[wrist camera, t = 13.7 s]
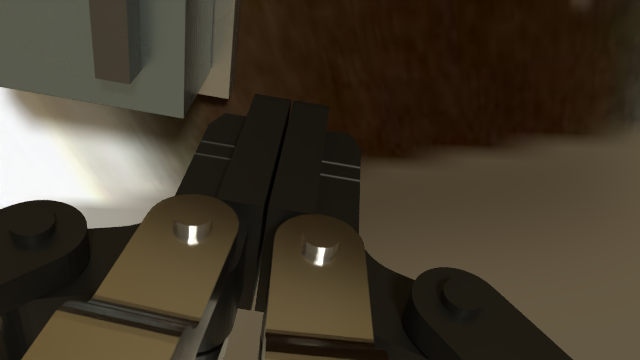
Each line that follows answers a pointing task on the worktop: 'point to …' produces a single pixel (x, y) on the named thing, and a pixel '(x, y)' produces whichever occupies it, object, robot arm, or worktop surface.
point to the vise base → (223, 49)
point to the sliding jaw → (108, 51)
